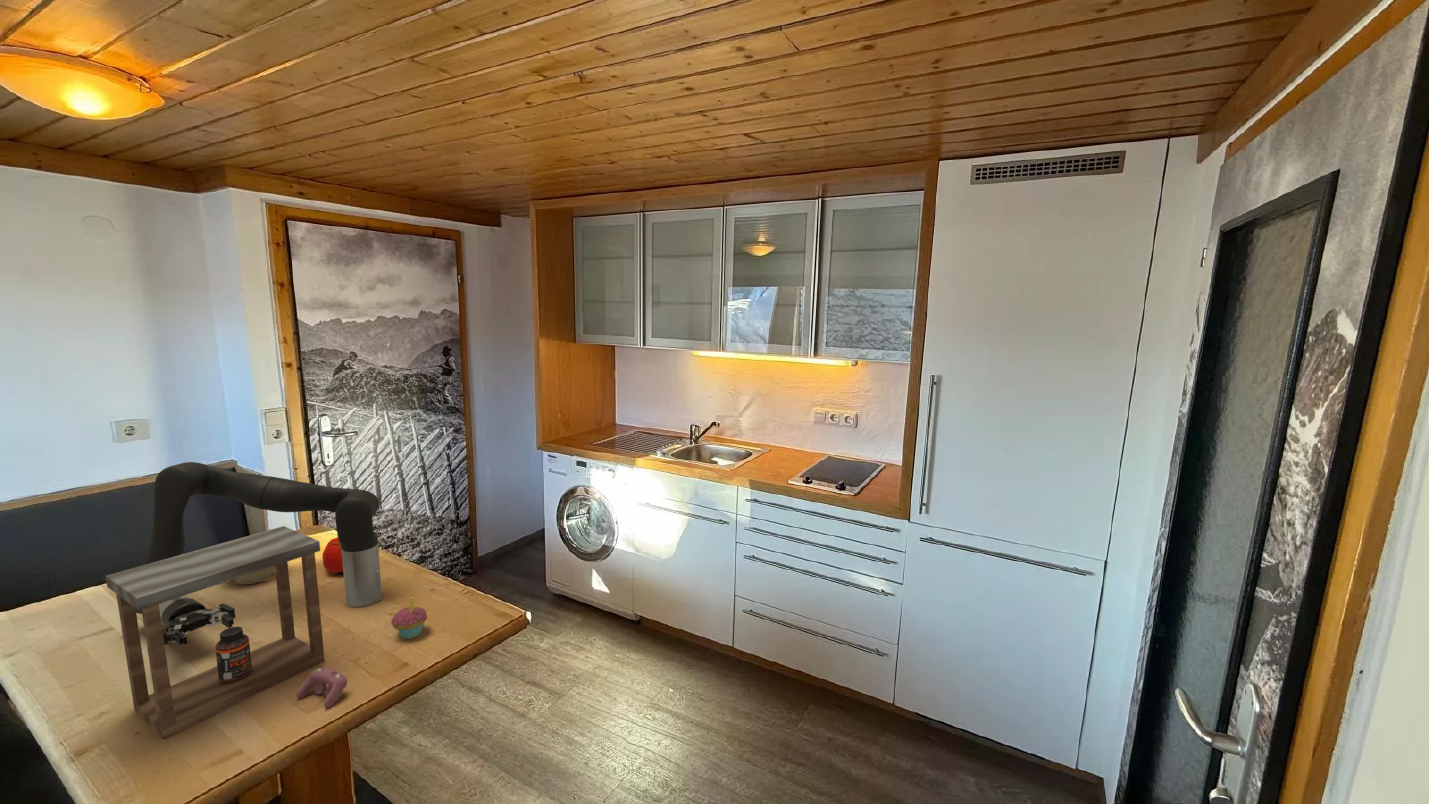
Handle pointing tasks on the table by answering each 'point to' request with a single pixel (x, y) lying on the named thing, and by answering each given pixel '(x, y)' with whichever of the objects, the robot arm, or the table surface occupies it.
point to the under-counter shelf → (207, 683)
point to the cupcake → (409, 620)
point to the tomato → (333, 556)
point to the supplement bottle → (233, 655)
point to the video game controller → (324, 684)
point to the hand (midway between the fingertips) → (208, 632)
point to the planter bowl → (256, 576)
